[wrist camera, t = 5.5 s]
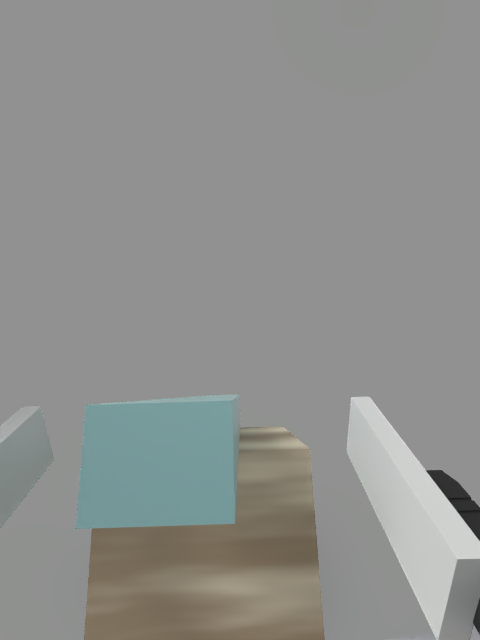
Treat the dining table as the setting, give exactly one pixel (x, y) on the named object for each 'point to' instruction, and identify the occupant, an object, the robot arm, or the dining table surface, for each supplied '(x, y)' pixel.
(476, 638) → the dining table surface
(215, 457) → the teal block
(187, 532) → the wooden stand
